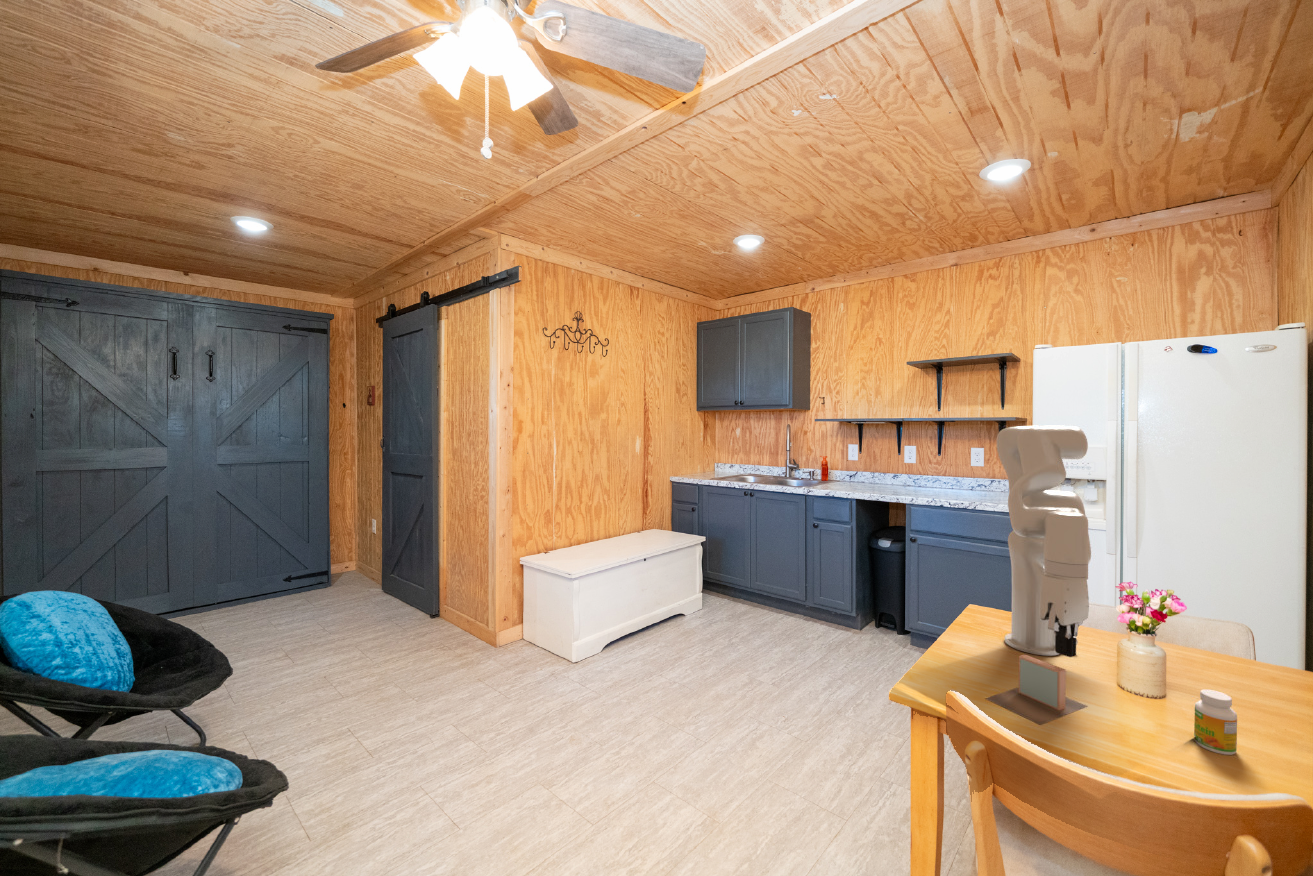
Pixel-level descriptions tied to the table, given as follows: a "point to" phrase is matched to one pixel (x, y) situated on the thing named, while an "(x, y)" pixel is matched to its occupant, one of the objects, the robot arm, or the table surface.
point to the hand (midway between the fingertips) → (1065, 654)
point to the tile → (1042, 681)
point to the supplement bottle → (1215, 723)
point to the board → (1033, 706)
